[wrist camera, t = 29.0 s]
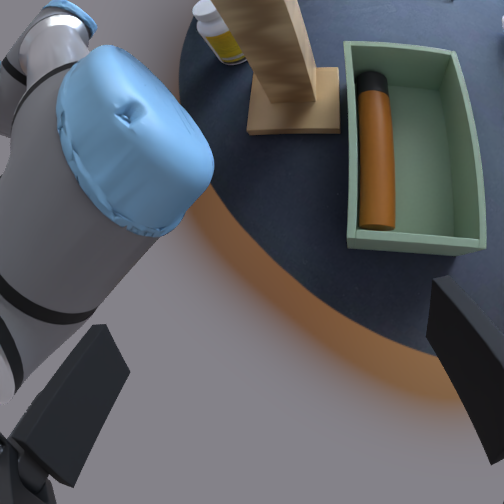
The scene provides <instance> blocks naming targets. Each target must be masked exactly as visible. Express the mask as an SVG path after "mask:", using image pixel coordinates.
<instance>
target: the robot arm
mask: <svg viewBox="0 0 504 504" xmlns="http://www.w3.org/2000/svg"><path fill="white" fill-rule="evenodd" d="M96 30H97V25H96V23H95V22H94V20H93V19H92V18H91V17H90V16H88V14H86V13H85V12H84V11H83V10H81V9H80V8H79V7H77V6H76V5H74V4H73V3H71V2H69V1H67V0H52V1H50V2H49V3H48V5H46V6H44V7H43V9H42V10H41V12H40V13H39V14H38V15H37V16H36V17H35V19H34V20H33V21H32V22H31V23H30V25H29V26H28V27H27V28H26V30H25V31H24V32H23V33H22V35H21V36H20V37H19V38H18V40H17V41H16V43H15V44H14V45H13V46H12V48H11V49H10V51H9V52H8V53H7V55H6V57H5V58H4V59H3V61H2V62H1V61H0V135H3V136H6V137H8V138H11V143H10V145H11V147H10V151H11V152H10V158H9V160H8V163H7V166H6V168H5V171H4V173H3V174H2V175H1V176H0V405H4V404H6V403H8V402H9V401H10V400H11V399H12V398H13V396H14V395H15V393H16V392H17V390H18V389H19V388H20V387H21V385H22V384H23V383H24V381H25V380H26V379H27V378H28V377H29V376H30V374H31V373H32V372H33V371H34V370H35V369H36V368H37V367H38V366H39V365H40V364H42V363H43V362H44V361H45V360H46V359H47V358H48V356H50V355H51V354H52V353H53V352H54V351H55V350H56V349H57V348H59V347H60V346H61V345H62V344H63V343H64V342H65V341H66V340H67V339H69V338H70V337H71V336H72V335H73V334H74V333H75V332H76V331H77V330H78V329H79V328H80V327H81V326H82V325H83V324H84V323H85V322H86V321H87V320H88V319H89V318H90V317H91V316H92V315H93V313H94V312H95V310H96V309H97V307H98V306H99V305H100V304H101V303H102V302H103V301H104V299H105V298H106V297H107V296H108V295H109V294H110V292H111V291H112V290H113V289H114V288H115V287H116V285H117V284H118V283H119V282H120V281H121V280H122V278H123V277H124V276H125V275H126V274H127V273H128V272H129V270H130V269H131V268H132V267H133V266H134V265H135V264H136V263H137V262H138V260H139V259H140V258H141V257H142V256H143V255H144V254H145V253H146V252H147V251H148V249H149V248H150V247H151V246H152V245H153V244H154V243H155V242H156V240H158V239H159V238H160V237H161V236H164V235H166V234H168V233H169V232H171V231H172V230H173V229H174V228H175V227H176V226H177V225H178V224H179V223H180V222H181V220H182V219H183V217H184V215H185V212H186V211H187V209H188V208H189V207H190V206H191V205H192V204H193V203H194V202H195V201H196V200H197V199H198V198H199V196H201V195H202V193H203V192H204V191H205V190H206V189H207V187H208V186H209V184H210V181H211V178H212V175H213V172H214V158H213V155H212V152H211V149H210V147H209V144H208V143H207V141H206V139H205V137H204V136H203V134H202V132H201V131H200V129H199V128H198V126H197V125H196V123H195V122H194V120H193V119H192V118H191V116H190V115H189V114H188V112H187V111H186V110H185V109H184V108H183V107H182V106H181V105H180V104H179V103H178V101H177V100H176V98H175V97H174V96H173V94H172V93H171V92H170V91H169V90H168V89H167V87H166V86H165V85H164V84H163V83H162V82H161V81H160V80H159V79H158V78H157V77H156V76H155V75H154V74H153V73H152V72H151V71H150V70H149V69H148V68H147V67H146V66H145V65H143V64H142V63H141V62H140V61H139V60H137V59H136V58H135V57H134V56H132V55H131V54H130V53H128V52H127V51H125V50H123V49H121V48H118V47H115V46H113V45H103V46H99V47H97V48H95V49H93V50H92V51H91V52H90V51H89V50H88V41H89V39H90V38H91V37H92V36H93V34H94V33H95V32H96ZM426 338H427V340H428V341H429V343H430V345H431V346H432V348H433V350H434V351H435V353H436V355H437V357H438V358H439V360H440V362H441V364H442V365H443V367H444V369H445V371H446V373H447V374H448V376H449V378H450V380H451V382H452V384H453V386H454V387H455V389H456V391H457V393H458V395H459V397H460V399H461V401H462V403H463V405H464V407H465V409H466V411H467V413H468V415H469V417H470V419H471V421H472V423H473V425H474V428H475V430H476V432H477V434H478V436H479V438H480V441H481V443H482V445H483V447H484V450H485V452H486V454H487V457H488V459H489V462H490V464H491V465H493V464H495V463H497V462H499V461H500V460H502V459H504V335H503V334H502V332H501V331H500V330H499V329H498V328H497V327H496V325H495V324H494V323H493V322H492V321H491V320H490V319H489V317H488V316H487V315H486V314H485V313H484V312H483V311H482V310H481V308H480V307H479V306H478V305H477V304H476V303H475V302H474V301H473V300H472V299H471V298H470V297H469V295H468V294H467V293H466V292H465V291H464V290H463V289H462V288H461V287H460V286H459V285H458V284H457V283H456V282H455V281H454V280H453V279H452V278H451V277H450V276H449V275H447V276H443V277H439V278H434V279H432V290H431V300H430V309H429V318H428V325H427V332H426ZM129 374H130V370H129V368H128V367H127V365H126V363H125V361H124V359H123V357H122V355H121V353H120V352H119V349H118V348H117V346H116V344H115V342H114V340H113V338H112V336H111V334H110V332H109V330H108V327H107V325H106V324H100V325H92V326H91V328H90V329H89V330H88V331H87V333H86V334H85V335H84V336H83V338H82V339H81V340H80V342H79V343H78V344H77V345H76V347H75V348H74V349H73V350H72V352H71V353H70V354H69V356H68V357H67V358H66V360H65V361H64V362H63V364H62V365H61V366H60V367H59V369H58V370H57V372H56V373H55V374H54V376H53V377H52V378H51V380H50V381H49V382H48V384H47V385H46V387H45V388H44V389H43V390H42V391H41V392H40V393H39V394H38V395H37V396H36V398H35V399H34V400H33V402H32V403H31V404H32V405H30V406H29V407H28V409H27V410H26V411H27V412H26V413H24V415H23V416H22V418H21V419H20V421H19V422H18V424H17V425H16V427H15V428H14V430H13V431H12V433H11V434H10V436H9V437H8V438H7V439H6V438H5V437H4V436H3V435H2V434H1V433H0V504H56V500H55V496H54V492H53V487H52V484H51V482H50V480H48V479H47V477H48V475H49V474H50V475H51V476H52V477H53V478H54V479H56V480H57V481H58V482H59V483H62V484H64V485H67V486H70V487H72V488H74V486H75V483H76V481H77V479H78V477H79V475H80V472H81V470H82V468H83V466H84V464H85V462H86V460H87V457H88V455H89V453H90V451H91V449H92V447H93V445H94V443H95V441H96V438H97V437H98V435H99V433H100V430H101V428H102V426H103V424H104V423H105V420H106V419H107V416H108V414H109V413H110V411H111V409H112V407H113V405H114V403H115V401H116V399H117V397H118V395H119V393H120V391H121V389H122V387H123V385H124V383H125V381H126V380H127V377H128V376H129ZM503 504H504V502H503Z"/></svg>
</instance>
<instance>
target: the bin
mask: <svg viewBox="0 0 504 504" xmlns="http://www.w3.org/2000/svg"><path fill="white" fill-rule="evenodd" d="M343 44H344V54H345V67H346V81H347V100H348V129H349V188H348V218H347V247H348V248H352V249H366V250H380V251H394V252H408V253H421V254H434V255H447V256H460V255H464V254H468V253H472V252H476V251H480V250H483V249H486V210H485V194H484V182H483V173H482V164H481V157H480V150H479V144H478V138H477V132H476V127H475V122H474V117H473V112H472V108H471V104H470V100H469V96H468V92H467V88H466V84H465V81H464V77H463V74H462V70H461V67H460V64H459V61H458V58H457V55H456V52H454V51H449V50H443V49H437V48H431V47H424V46H416V45H407V44H396V43H383V42H363V41H344V42H343ZM368 71H374V72H378V73H381V74H383V75H384V76H385V77H386V79H387V83H388V90H389V99H390V107H391V117H392V128H393V141H394V159H395V193H396V212H395V229H394V230H391V231H372V230H365V229H362V228H360V227H359V206H360V137H359V113H358V96H357V82H356V79H357V76H358V75H359V74H361V73H363V72H368Z"/></svg>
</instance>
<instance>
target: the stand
mask: <svg viewBox="0 0 504 504" xmlns="http://www.w3.org/2000/svg"><path fill="white" fill-rule="evenodd" d="M211 2H212V3H213V5H214V6H215V8H216V10H217V11H218V13H219V14H220V16H221V17H222V19H223V21H224V22H225V24H226V25H227V27H228V29H229V30H230V32H231V34H232V35H233V37H234V39H235V40H236V42H237V44H238V45H239V47H240V49H241V50H242V52H243V54H244V56H245V57H246V59H247V61H248V63H249V64H250V66H251V68H252V70H253V71H254V72H253V80H252V88H251V96H250V105H249V113H248V122H247V132H248V133H249V135H266V134H304V133H323V134H341V121H340V88H339V71H338V67H325V68H316V65H315V61H314V58H313V54H312V50H311V46H310V43H309V39H308V35H307V32H306V28H305V25H304V22H303V18H302V15H301V12H300V8H299V5H298V2H297V0H211Z"/></svg>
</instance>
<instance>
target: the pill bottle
mask: <svg viewBox="0 0 504 504" xmlns="http://www.w3.org/2000/svg"><path fill="white" fill-rule="evenodd" d="M192 13H193V15H194V16H195V18H196V19H197V20H198V22H197V30H198V32H199V33H200V35H201V36H202V37H203V38H204V40H205V41H206V42H207V44H208V45H209V46H210V48H211V49H212V51H213V52H214V53H215V55H216V56H217V58H218V59H219V60H220V61H221V62H222V63H224V64H227V65H236V64H240V63H243V62H245V61H246V60H247V59H246V57H245V56H244V54H243V52H242V50H241V49H240V47H239V45H238V44H237V42H236V40H235V39H234V37H233V35H232V34H231V32H230V30H229V29H228V27H227V25H226V24H225V22H224V21H223V19H222V17H221V16H220V14H219V13H218V11H217V10H216V8H215V6H214V5H213V3H212V2H211V0H201V1H199V2H198V3H197V4H196V5H195V6H194V7H193V10H192Z"/></svg>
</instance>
